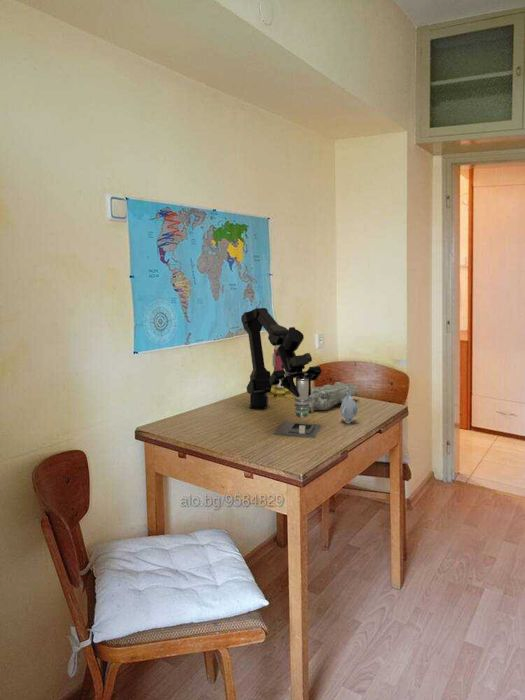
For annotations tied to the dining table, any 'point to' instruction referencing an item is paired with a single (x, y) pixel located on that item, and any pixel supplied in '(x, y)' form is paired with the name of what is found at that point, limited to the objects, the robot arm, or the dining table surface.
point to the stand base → (298, 429)
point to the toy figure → (348, 408)
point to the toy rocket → (279, 389)
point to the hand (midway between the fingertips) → (304, 395)
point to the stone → (329, 395)
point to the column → (302, 397)
